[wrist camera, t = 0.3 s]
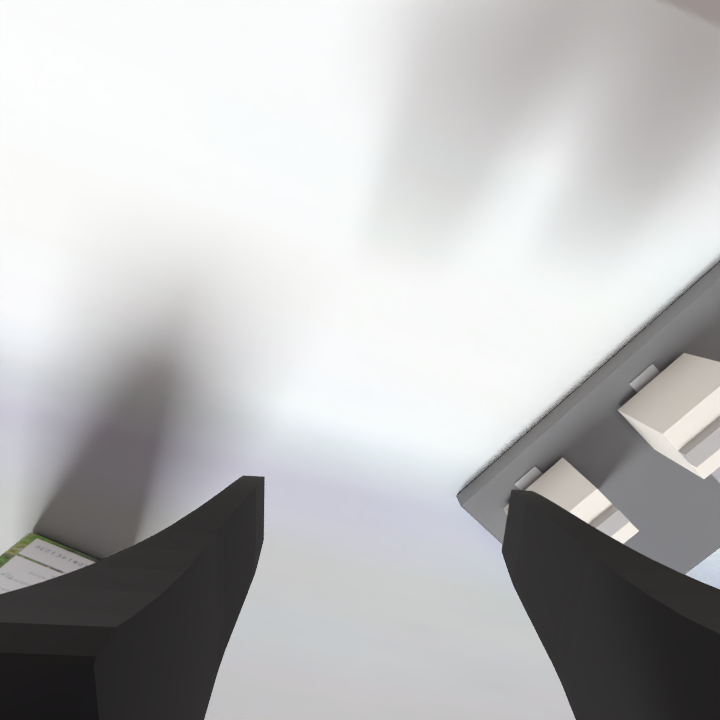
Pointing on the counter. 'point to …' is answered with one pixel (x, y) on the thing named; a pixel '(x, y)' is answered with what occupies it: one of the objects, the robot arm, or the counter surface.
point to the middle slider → (681, 413)
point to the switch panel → (623, 443)
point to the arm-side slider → (582, 500)
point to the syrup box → (38, 562)
